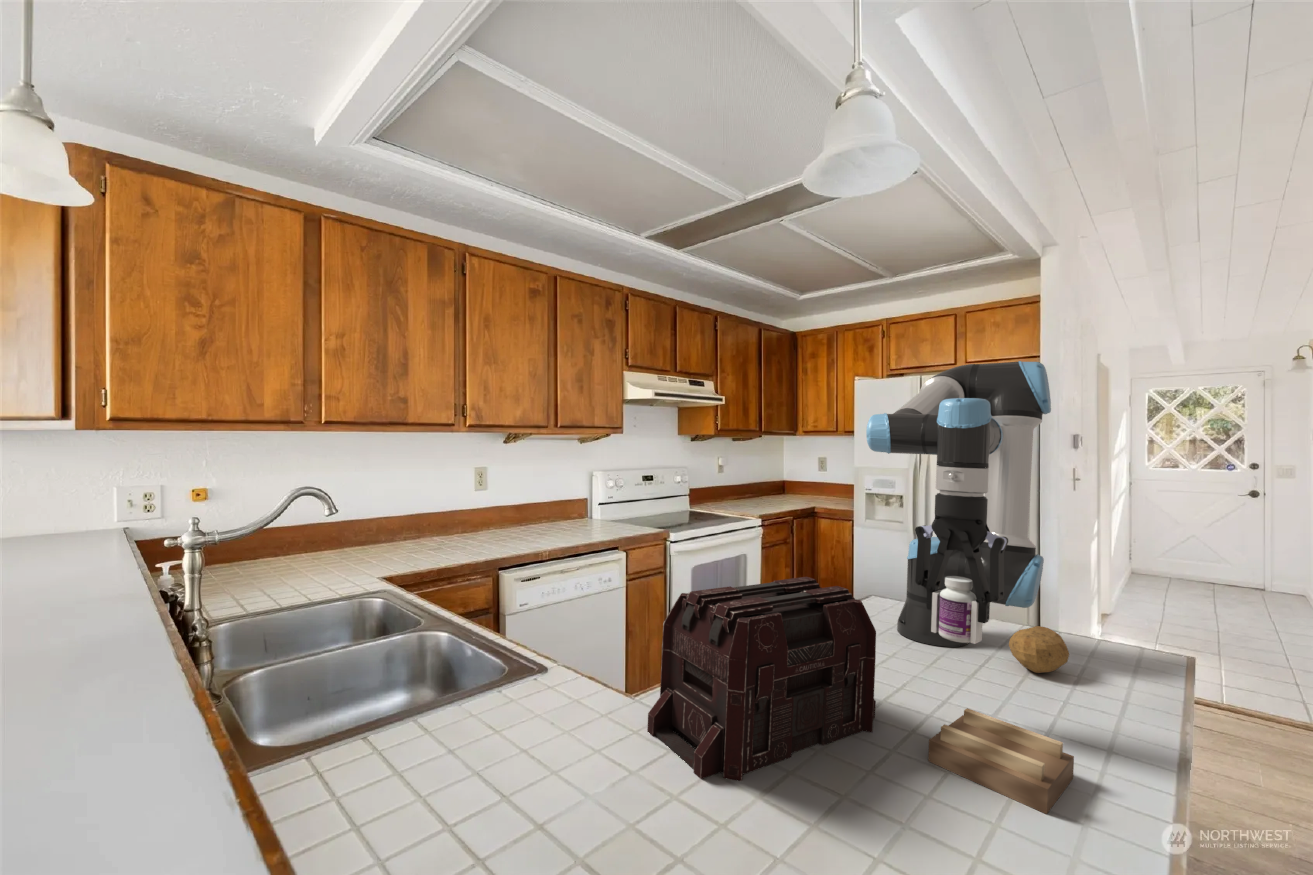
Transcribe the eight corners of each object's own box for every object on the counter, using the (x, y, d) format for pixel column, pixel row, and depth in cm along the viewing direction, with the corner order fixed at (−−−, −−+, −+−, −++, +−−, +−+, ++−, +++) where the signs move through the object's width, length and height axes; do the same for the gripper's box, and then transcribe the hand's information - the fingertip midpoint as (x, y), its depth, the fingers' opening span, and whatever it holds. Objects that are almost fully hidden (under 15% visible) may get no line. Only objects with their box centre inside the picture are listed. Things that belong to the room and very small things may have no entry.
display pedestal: (928, 761, 78) (929, 726, 78) (962, 734, 86) (963, 703, 86) (1046, 814, 68) (1048, 774, 68) (1073, 778, 76) (1074, 742, 76)
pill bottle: (974, 646, 88) (976, 584, 88) (936, 638, 91) (938, 579, 91) (976, 636, 92) (978, 577, 92) (940, 629, 95) (942, 572, 95)
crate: (714, 792, 69) (721, 623, 70) (637, 723, 85) (643, 586, 86) (890, 726, 88) (895, 593, 88) (800, 680, 104) (805, 568, 104)
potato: (997, 670, 113) (999, 630, 113) (1020, 655, 122) (1021, 618, 122) (1055, 687, 105) (1057, 645, 106) (1075, 670, 115) (1076, 631, 115)
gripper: (895, 489, 96) (890, 624, 96) (1017, 500, 82) (1012, 659, 82) (914, 487, 101) (910, 616, 101) (1033, 498, 87) (1028, 648, 87)
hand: (955, 635), depth 91 cm, fingers closed on pill bottle, 5 cm apart
